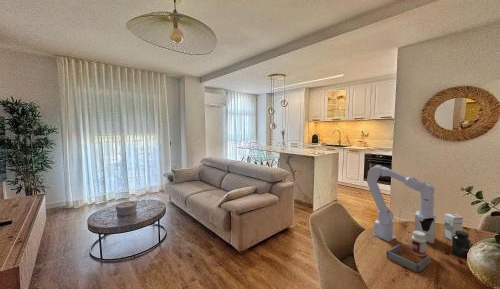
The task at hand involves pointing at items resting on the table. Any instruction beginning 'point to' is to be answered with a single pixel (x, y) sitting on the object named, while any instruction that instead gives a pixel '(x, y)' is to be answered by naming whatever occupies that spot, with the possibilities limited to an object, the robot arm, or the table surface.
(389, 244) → the table surface
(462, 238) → the supplement bottle
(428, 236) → the supplement box
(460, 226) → the syrup box
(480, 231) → the table surface
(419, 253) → the pill bottle
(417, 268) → the box
